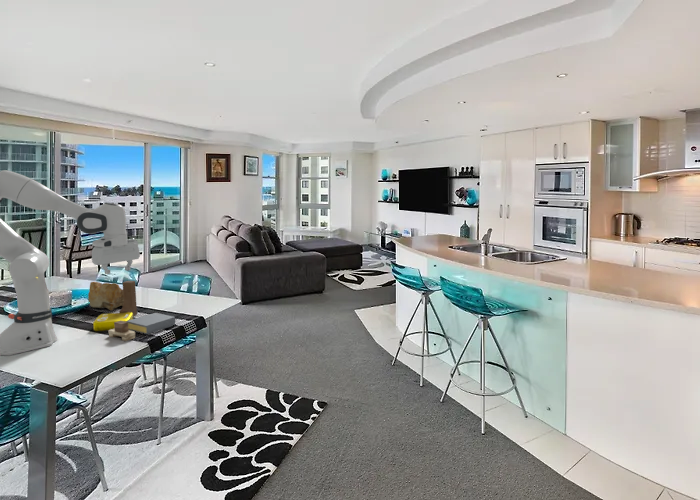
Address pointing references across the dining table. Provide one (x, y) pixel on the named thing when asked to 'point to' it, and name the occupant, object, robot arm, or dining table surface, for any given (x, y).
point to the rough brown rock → (105, 295)
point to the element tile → (110, 320)
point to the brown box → (121, 326)
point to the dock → (151, 323)
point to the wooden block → (129, 298)
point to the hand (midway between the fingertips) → (117, 272)
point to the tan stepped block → (122, 334)
